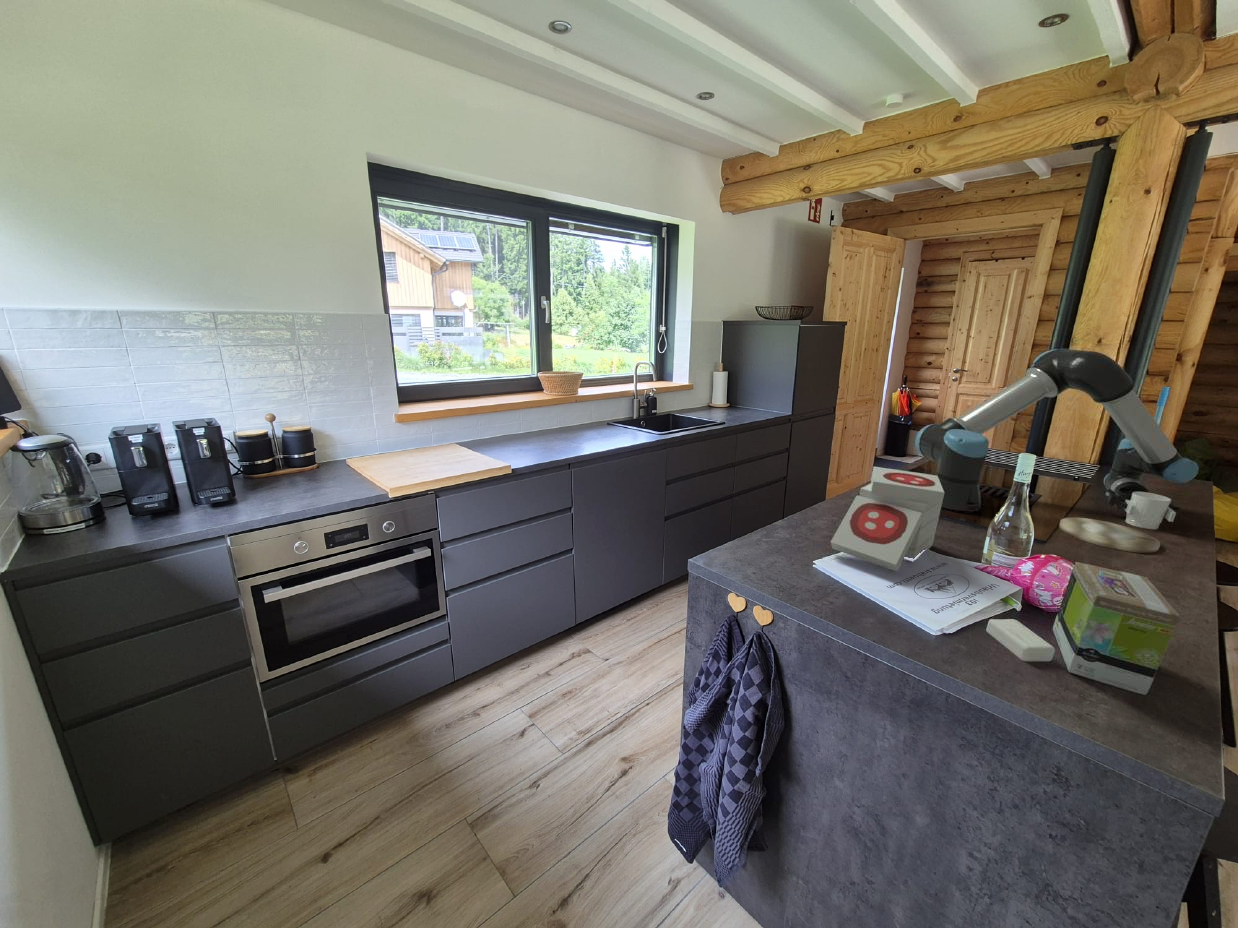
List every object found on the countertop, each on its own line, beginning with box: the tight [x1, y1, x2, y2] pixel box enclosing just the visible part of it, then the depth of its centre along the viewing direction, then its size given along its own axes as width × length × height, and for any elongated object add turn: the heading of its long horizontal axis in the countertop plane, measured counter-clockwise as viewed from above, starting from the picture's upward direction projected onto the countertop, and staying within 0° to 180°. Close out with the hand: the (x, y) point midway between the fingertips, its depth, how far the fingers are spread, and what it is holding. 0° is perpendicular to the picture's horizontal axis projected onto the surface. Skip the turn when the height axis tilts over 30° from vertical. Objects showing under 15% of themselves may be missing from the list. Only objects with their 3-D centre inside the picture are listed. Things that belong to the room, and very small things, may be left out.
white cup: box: [1124, 492, 1172, 530], centre depth 145 cm, size 8×8×10 cm
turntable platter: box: [1058, 516, 1161, 554], centre depth 137 cm, size 20×20×2 cm
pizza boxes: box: [830, 466, 945, 572], centre depth 124 cm, size 19×30×18 cm, turn 133°
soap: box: [986, 618, 1056, 662], centre depth 89 cm, size 9×6×3 cm, turn 3°
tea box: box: [1052, 561, 1181, 696], centre depth 84 cm, size 15×10×15 cm, turn 148°
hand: (1152, 513), depth 141 cm, fingers closed on white cup, 8 cm apart
